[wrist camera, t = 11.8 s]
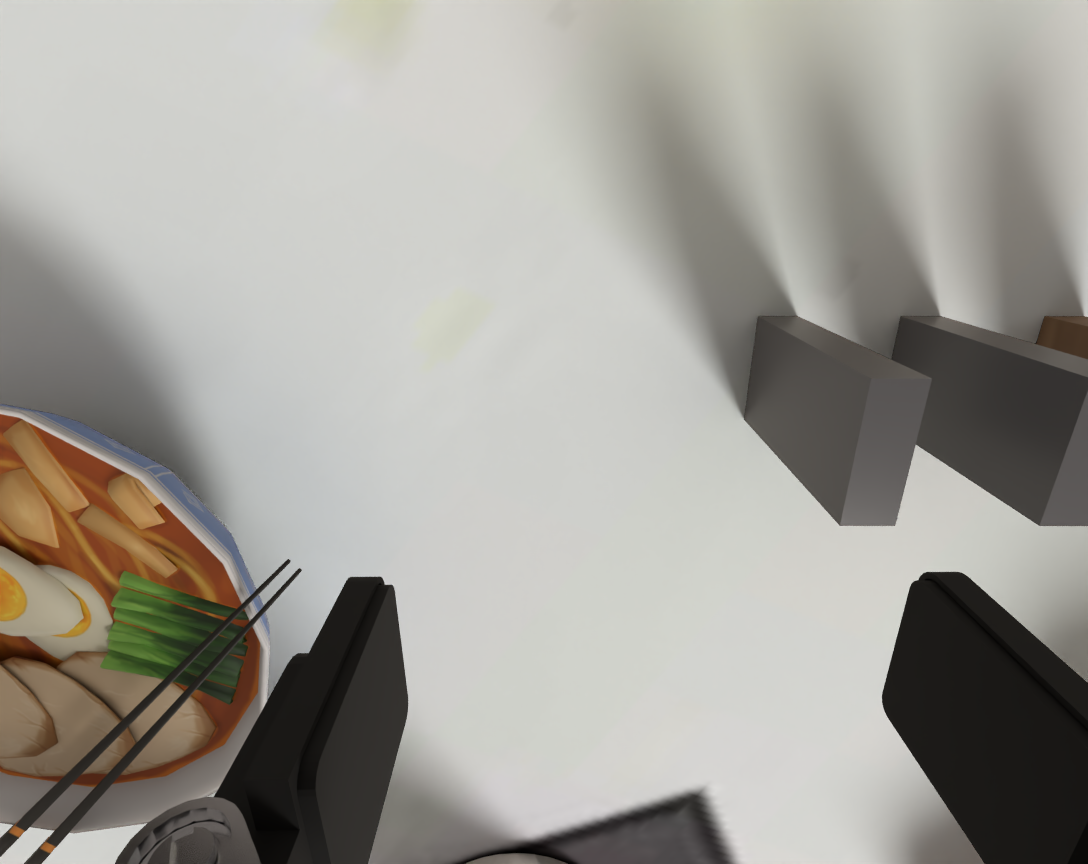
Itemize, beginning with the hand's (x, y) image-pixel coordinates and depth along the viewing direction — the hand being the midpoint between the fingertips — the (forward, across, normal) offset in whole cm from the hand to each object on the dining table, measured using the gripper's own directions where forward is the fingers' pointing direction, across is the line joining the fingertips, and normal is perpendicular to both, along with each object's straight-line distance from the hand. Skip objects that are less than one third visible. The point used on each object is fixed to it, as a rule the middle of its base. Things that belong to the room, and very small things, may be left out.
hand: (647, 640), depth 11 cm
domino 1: (+18, -9, 0) cm, 20 cm away
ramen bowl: (+18, +25, +10) cm, 33 cm away
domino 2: (+18, -15, 0) cm, 24 cm away
